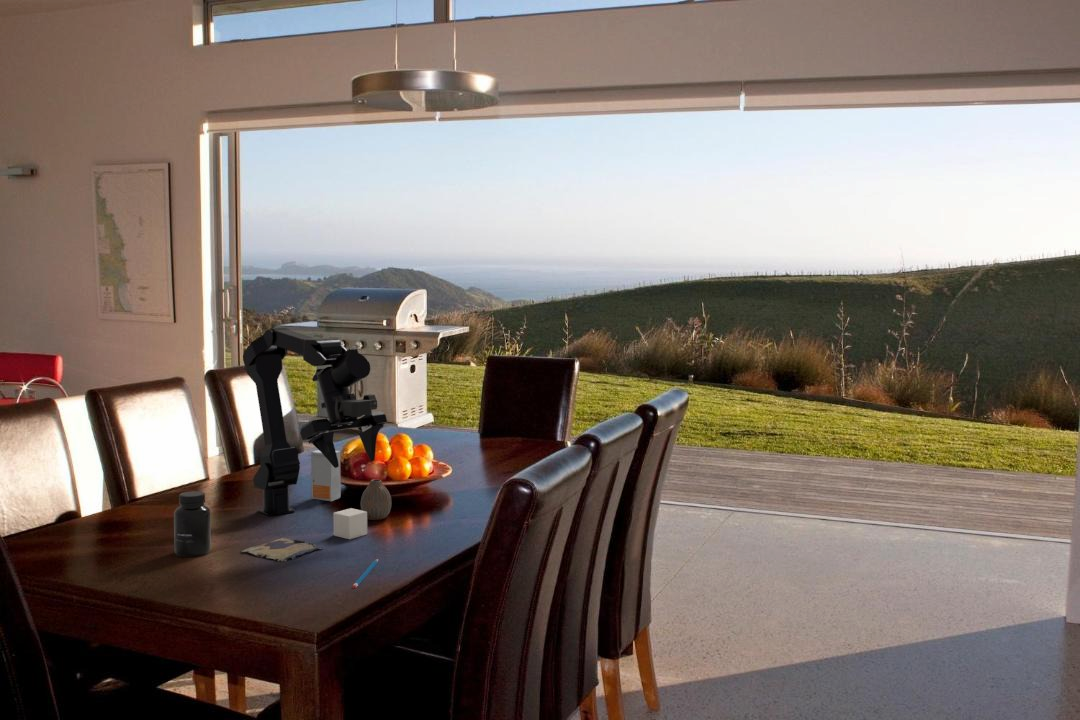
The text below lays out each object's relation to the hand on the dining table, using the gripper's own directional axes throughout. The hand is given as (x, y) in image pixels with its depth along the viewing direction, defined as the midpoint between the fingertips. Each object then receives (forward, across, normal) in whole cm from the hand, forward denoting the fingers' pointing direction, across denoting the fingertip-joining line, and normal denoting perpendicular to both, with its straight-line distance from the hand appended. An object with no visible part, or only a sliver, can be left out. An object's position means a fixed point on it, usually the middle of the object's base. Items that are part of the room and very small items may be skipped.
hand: (355, 464), depth 197 cm
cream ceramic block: (+13, 0, +9) cm, 16 cm away
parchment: (+14, -16, +10) cm, 23 cm away
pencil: (+23, -13, -13) cm, 30 cm away
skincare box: (+1, +16, +37) cm, 40 cm away
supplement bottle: (+9, -29, +20) cm, 36 cm away
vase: (+11, +13, +15) cm, 23 cm away
